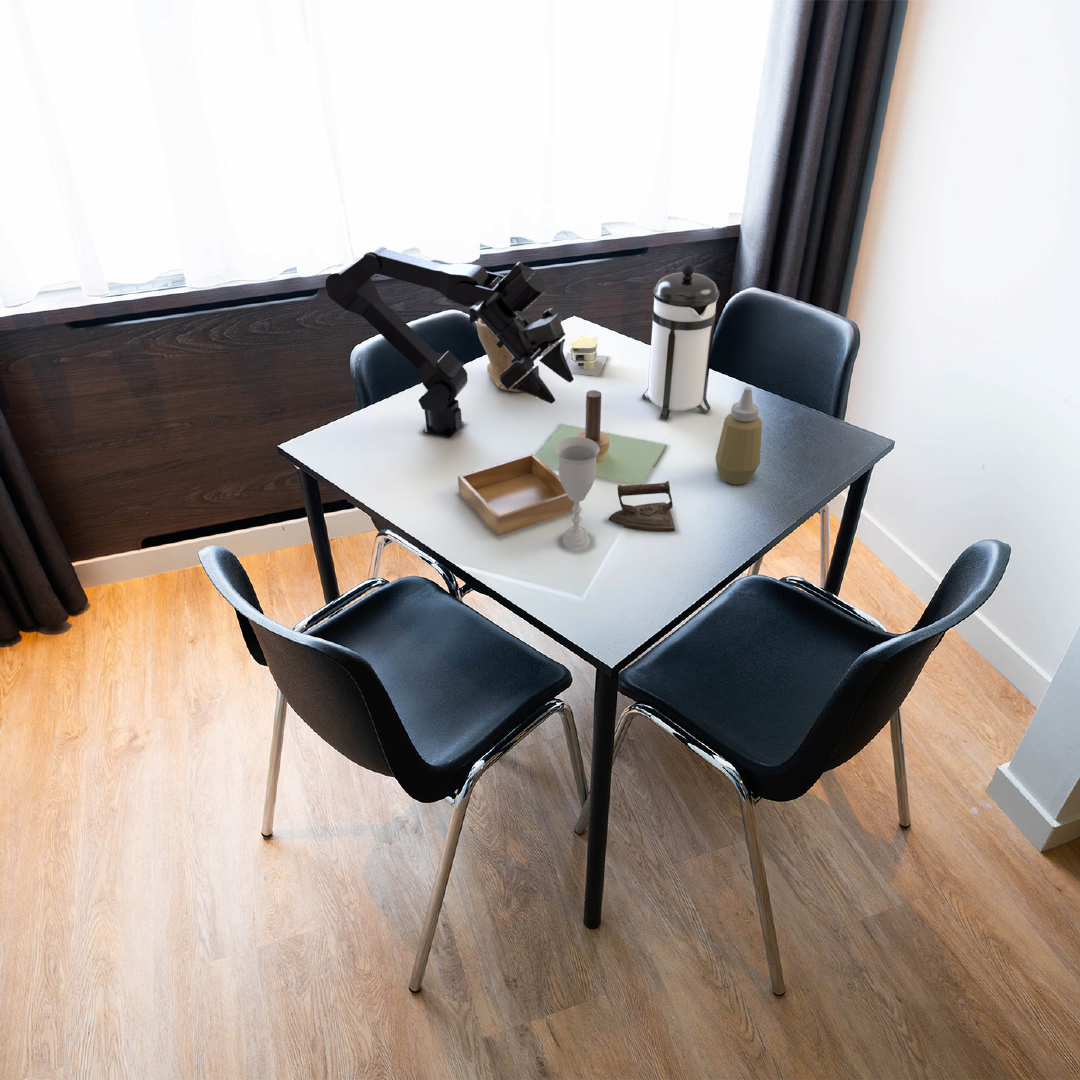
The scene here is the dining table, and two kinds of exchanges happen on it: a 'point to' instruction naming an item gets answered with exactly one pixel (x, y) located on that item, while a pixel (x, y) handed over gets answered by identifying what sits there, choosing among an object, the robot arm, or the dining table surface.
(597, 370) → the stacked layers on plate
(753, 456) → the squeeze bottle
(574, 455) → the chalice
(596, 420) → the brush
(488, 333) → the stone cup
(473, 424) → the dining table surface
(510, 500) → the tray
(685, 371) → the coffee press
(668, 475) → the dining table surface
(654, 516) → the clothes iron
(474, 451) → the dining table surface
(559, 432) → the mat
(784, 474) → the dining table surface
